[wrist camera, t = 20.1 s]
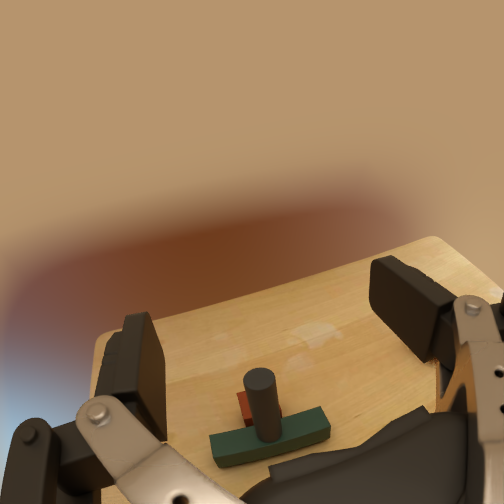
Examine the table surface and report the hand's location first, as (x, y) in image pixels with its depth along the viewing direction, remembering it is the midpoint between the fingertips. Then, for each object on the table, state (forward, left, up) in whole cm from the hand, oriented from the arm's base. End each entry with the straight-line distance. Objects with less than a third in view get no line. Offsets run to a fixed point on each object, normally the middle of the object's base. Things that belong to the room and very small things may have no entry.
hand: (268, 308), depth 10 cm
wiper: (0, +9, -25) cm, 26 cm away
